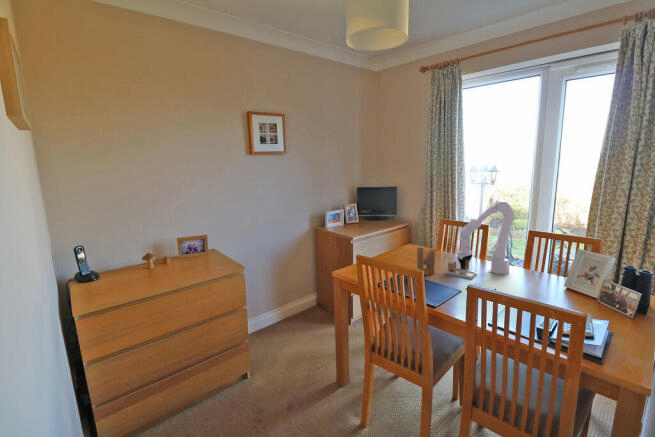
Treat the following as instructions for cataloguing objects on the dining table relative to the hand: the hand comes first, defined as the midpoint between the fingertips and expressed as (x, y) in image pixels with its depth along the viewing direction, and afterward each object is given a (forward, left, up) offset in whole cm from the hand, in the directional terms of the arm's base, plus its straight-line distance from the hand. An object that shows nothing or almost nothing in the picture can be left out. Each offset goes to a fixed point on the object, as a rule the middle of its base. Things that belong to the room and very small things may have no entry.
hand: (464, 266), depth 195 cm
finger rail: (-2, +10, -1) cm, 10 cm away
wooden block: (+15, +23, -2) cm, 28 cm away
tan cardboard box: (0, 0, -2) cm, 2 cm away
